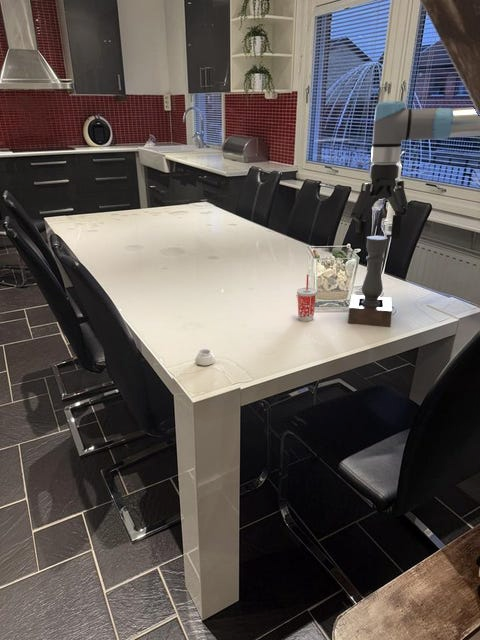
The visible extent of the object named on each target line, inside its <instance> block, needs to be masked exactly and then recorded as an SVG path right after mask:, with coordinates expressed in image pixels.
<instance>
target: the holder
mask: <svg viewBox="0 0 480 640" xmlns="http://www.w3.org/2000/svg"><path fill="white" fill-rule="evenodd" d="M363 299H364V295H357V294H351V296H350V302H349V306H348V307H349V308H348V317H347V318H348V319H347V324H353V325H365V326H374V327H384V328H385V327H386V328H391V324H392V317H393V316H392V315H393V301H392V297H384V296H383V297H382V296H379V298H378V300H379V302H380V306H379V307H369V306H361V305H362V304H361V302H362V301H363Z"/></svg>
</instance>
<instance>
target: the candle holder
mask: <svg viewBox="0 0 480 640" xmlns="http://www.w3.org/2000/svg"><path fill="white" fill-rule="evenodd" d="M387 245H388V237H387V236H384V235H369V236H366V247H365V248H366V252H367V254H368V255H367V256H366V258H365V260H366V261H367V269H366V270H367V271H366V274H365V277H364V280H363V283H362V286H361V292H362V294H363V296H364V299H363V301H362V302H361V304H362V305H361V306H369V307H379V306H380V302H379V300H378V298H379V297H381V295H382V293H383V291H384V288H383V280H382V273H381V271H382V264H383V262H384V261H385V258H384V257H383V256H384V254H385V252H386V250H387Z"/></svg>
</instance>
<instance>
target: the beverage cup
mask: <svg viewBox="0 0 480 640" xmlns="http://www.w3.org/2000/svg"><path fill="white" fill-rule="evenodd" d="M296 294H297V319H298V320H299V321H302V320H304V321H303V322H310V320H311V321H313V320H314V315H315V308H316V307H315V306H316V297H317V295H318V290H317V289H316V288H312V287H309V274H306V285H305V287H299V288H297V289H296Z"/></svg>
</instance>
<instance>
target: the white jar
mask: <svg viewBox="0 0 480 640" xmlns="http://www.w3.org/2000/svg"><path fill="white" fill-rule="evenodd" d="M194 362H195V363H196V364H197V365H199V366H209V365H213V364H214V363H215V362H216V357H215V356H214V353H213V352H212V350H211V349H210V348H209V349H208V348H203V349H200V350H198V353H197V355H196V356H195V359H194Z"/></svg>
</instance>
